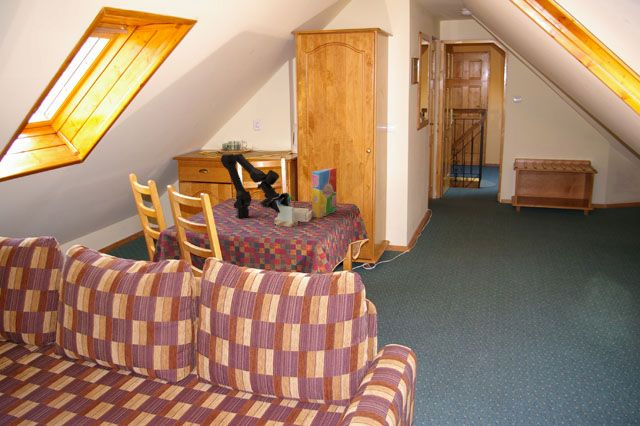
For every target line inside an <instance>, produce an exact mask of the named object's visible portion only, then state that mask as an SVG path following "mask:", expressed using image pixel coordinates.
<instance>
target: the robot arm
mask: <svg viewBox="0 0 640 426" xmlns="http://www.w3.org/2000/svg"><path fill="white" fill-rule="evenodd" d="M220 163H221V164H222V166H223V168H225V169H226V170H227V172H228V174H229V177H230V178H231V181H232V184H233V187H234V189H235V194H236V195H235V200H236V201H235V202H234V203H233V207H234V209H235V210H236V212H235V213H236V215H235V218H238V219H239V220H240V219H246V218H250V211H249V207H250V206H251V203H252V195H251V193H250V191H249V190H246V189H245V187H244V185H243V182H242V179H241V177H240V174H239V172H238V169H237V163H238V165H240V166H241V167H242V169H244V170H245V171H246V172H247V173H248V174H249V178H250V179H251V181H252V182H254V183H255V184H256V183H258V184H257V187H256V190H262V192H263V193H264V195H263V196H264V198H265V199H263V200H260V202H259V204H260V206H261V207H262V208H266V209H269V208H270V209H272V210H273V211H275V212H277V214H278V213H280V210H279V208H278V206H277V204H276V202H275V201H279V202H280V203H279V204H283V206H288V207H289V205H288V197H289V195H290V194H289V193H288V192H283V193H281V195H280V193H279V192H277V191H276V188H275V187H273V186H274V185H275V183H276V182H277V181H278V180H279V179H280V175H279V173H277V172H276V171H274V170H273V169H269V171H268V172H267V173H265V172H264V171H263V170H261V169H258V168H256V167H255V166H254V165H253V164H252V163H251V162H250V161H249V160H248V159H247V158H246V157H245V156H244V155H243V154H242V153H236V154H233V153H227V154H223V155H221V157H220ZM279 195H280V196H279Z"/></svg>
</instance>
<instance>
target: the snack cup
mask: <svg viewBox="0 0 640 426" xmlns="http://www.w3.org/2000/svg"><path fill="white" fill-rule="evenodd" d="M279 194H280V193H279ZM281 194H282V193H281ZM281 194H280V195H281ZM280 195H279V196H280ZM292 199H293V206H295V207H296V199H295V197H294V196H292V195H291V194H289V197H288V205H289V207H291V205H290V204H291V200H292ZM275 202H276V204H277V206H279V205H282V206H283V204H279V203H280V202H279V201H275Z"/></svg>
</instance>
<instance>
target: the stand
mask: <svg viewBox="0 0 640 426" xmlns="http://www.w3.org/2000/svg"><path fill="white" fill-rule="evenodd" d="M273 222H274V225H275V224H276V226H281V227H282V226H283V227H286V228H287V227H288V228H293V226H294V227H296V226H298V225H299V223H298V221H294V225H293V223H290V222H284V221H278V220H276V221H275V220H274V221H273Z"/></svg>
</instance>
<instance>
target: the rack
mask: <svg viewBox="0 0 640 426" xmlns="http://www.w3.org/2000/svg"><path fill="white" fill-rule="evenodd" d="M312 219H313V217H312V209H311V210H310V209H309V208H303V207H301V208H298V207H297V208H296V207H294V221H300V222H304V223H305V222H306V223H307V222H309V221H311V220H312ZM276 220H278V215H277V216H276V217H275V218H274V221H276Z"/></svg>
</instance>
